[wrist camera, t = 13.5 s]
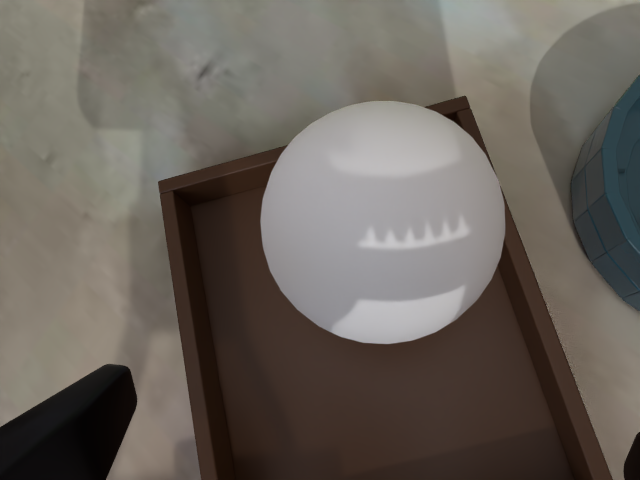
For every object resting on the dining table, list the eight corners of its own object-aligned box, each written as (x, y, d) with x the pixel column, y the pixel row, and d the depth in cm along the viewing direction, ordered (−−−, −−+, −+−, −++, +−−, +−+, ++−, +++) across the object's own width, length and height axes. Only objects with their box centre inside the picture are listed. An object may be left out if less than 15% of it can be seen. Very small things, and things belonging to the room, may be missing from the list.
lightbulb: (296, 235, 22) (207, 88, 11) (434, 198, 21) (477, 12, 11) (328, 378, 20) (257, 362, 9) (481, 340, 19) (588, 281, 9)
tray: (602, 517, 18) (636, 538, 15) (243, 599, 18) (222, 630, 16) (457, 125, 23) (466, 94, 20) (180, 202, 23) (157, 180, 21)
